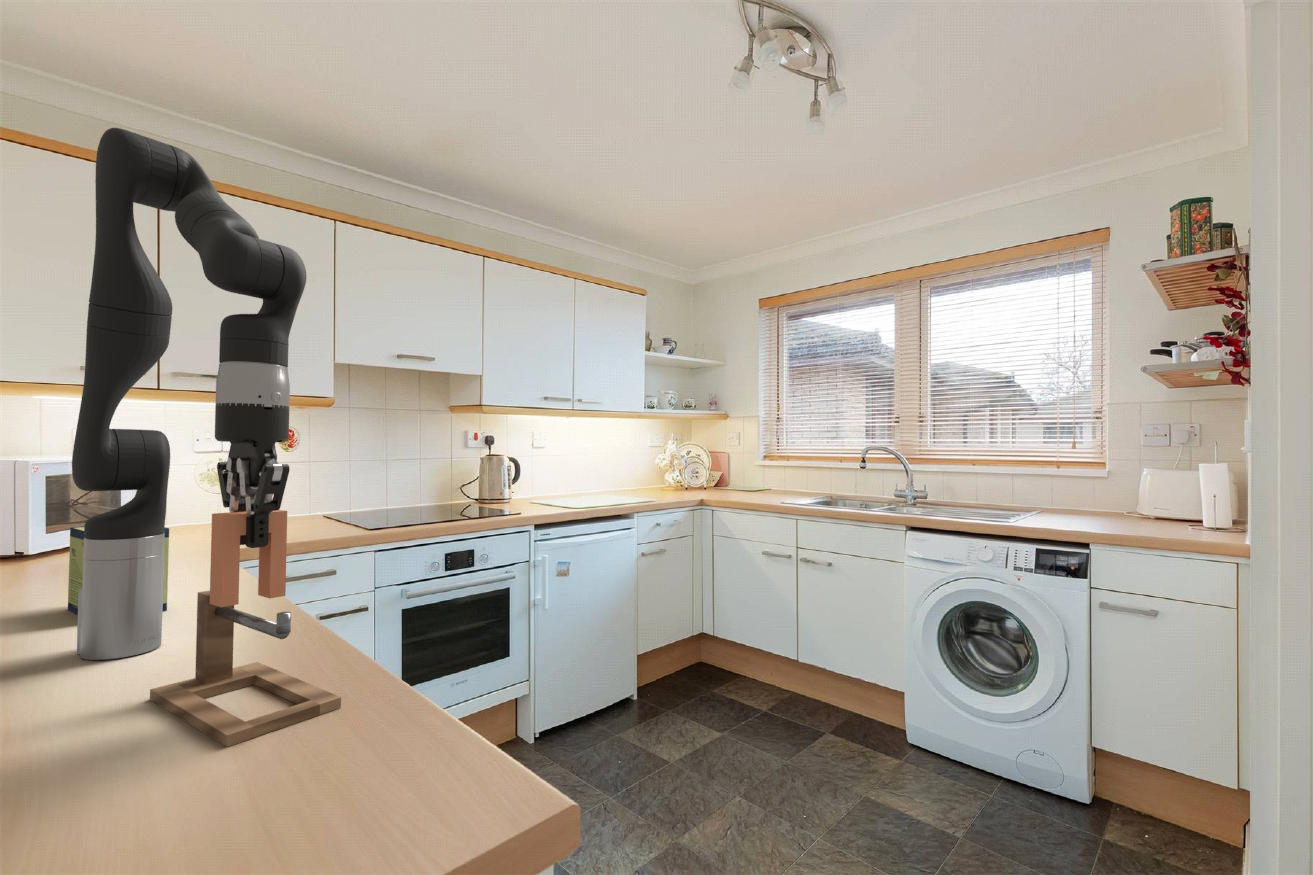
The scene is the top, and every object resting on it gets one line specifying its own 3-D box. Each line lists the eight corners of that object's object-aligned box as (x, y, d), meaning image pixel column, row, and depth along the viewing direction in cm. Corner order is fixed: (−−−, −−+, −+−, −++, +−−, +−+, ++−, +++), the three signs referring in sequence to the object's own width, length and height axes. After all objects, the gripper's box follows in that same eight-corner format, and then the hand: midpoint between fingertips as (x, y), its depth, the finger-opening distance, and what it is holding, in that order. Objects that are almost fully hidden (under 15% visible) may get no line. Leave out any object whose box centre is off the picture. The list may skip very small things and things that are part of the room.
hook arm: (214, 617, 78) (215, 594, 78) (226, 615, 79) (227, 592, 79) (279, 641, 69) (280, 615, 69) (293, 638, 70) (293, 612, 70)
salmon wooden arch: (220, 607, 71) (223, 515, 71) (209, 603, 72) (211, 513, 73) (285, 595, 76) (287, 510, 77) (273, 592, 78) (275, 509, 78)
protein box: (96, 623, 107) (99, 533, 107) (65, 610, 115) (68, 526, 115) (169, 610, 115) (171, 527, 116) (135, 599, 124) (137, 521, 124)
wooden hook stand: (149, 699, 75) (152, 598, 76) (257, 670, 85) (259, 581, 85) (226, 746, 64) (229, 627, 64) (340, 707, 74) (343, 604, 74)
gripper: (193, 402, 76) (189, 544, 75) (246, 398, 68) (242, 556, 68) (259, 406, 82) (256, 537, 82) (315, 403, 74) (312, 547, 74)
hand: (250, 545), depth 75 cm, fingers closed on salmon wooden arch, 3 cm apart
